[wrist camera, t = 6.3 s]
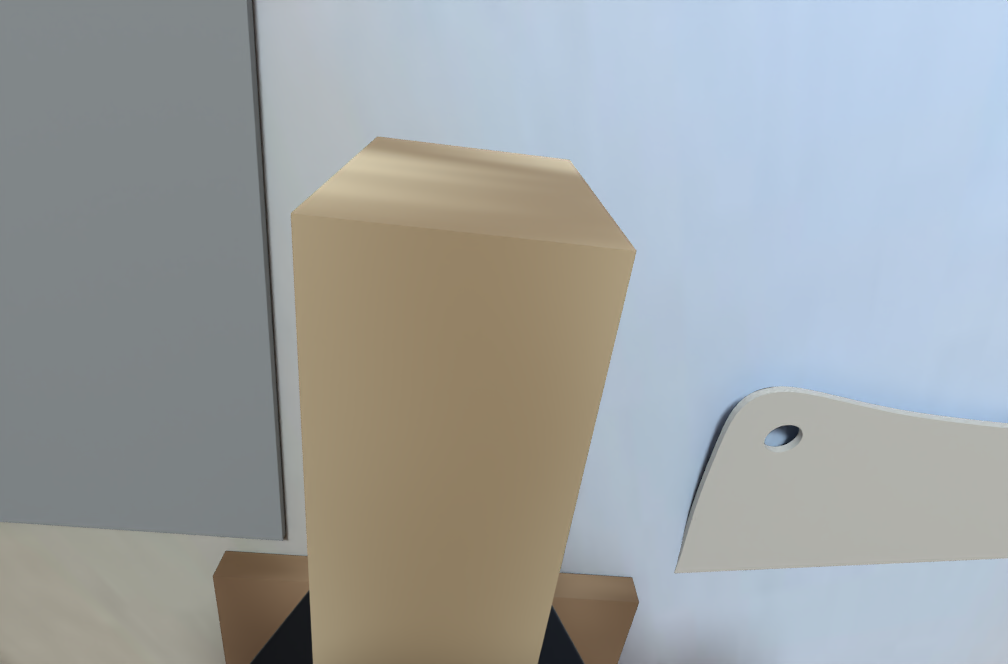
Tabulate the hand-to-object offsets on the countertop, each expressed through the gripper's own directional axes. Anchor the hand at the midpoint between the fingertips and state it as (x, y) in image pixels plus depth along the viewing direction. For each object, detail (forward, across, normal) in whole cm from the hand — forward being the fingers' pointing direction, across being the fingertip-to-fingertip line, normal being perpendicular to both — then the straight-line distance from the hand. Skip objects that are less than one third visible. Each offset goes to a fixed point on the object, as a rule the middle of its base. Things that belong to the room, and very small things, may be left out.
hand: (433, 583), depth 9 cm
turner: (+1, 0, +1) cm, 2 cm away
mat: (+7, +10, -1) cm, 12 cm away
